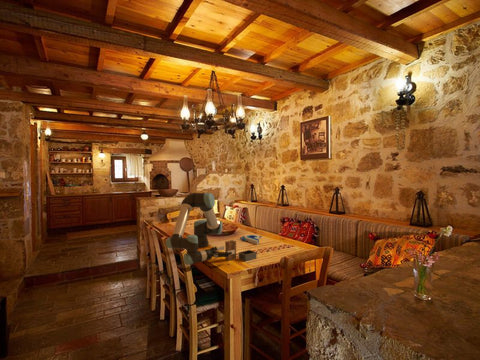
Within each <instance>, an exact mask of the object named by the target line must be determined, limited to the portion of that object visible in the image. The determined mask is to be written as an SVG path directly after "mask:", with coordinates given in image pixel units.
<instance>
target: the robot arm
mask: <svg viewBox="0 0 480 360" xmlns="http://www.w3.org/2000/svg"><path fill="white" fill-rule="evenodd" d="M215 201H216V200H215V195H214V194H213V193H212V192H191V193H189V194H188V195H186V196H185V197H184V198H183V199H182V201H181V203H180V205H179V208H180V210H179V213H178V216H177V219H176V222H175V224H174V225H175V226H174V229H173V232H172V234H171V237H167V238H166V240H165V246H166V247H167V249H172V250H176V249H177V250H186V252H185V253H184V254H183V262H184V265H187V266H189V265H194V264H198V263H203V262H205V261H209V260H211V259H212V258H215V259H216V258H225V257H229V255H232V254H235V250H232V251H227V252H225V251H224V250H225V246H224V245H223V246H213V247H210V248H207V249H203V250H199V248H203V247H204V248H205V247H208V246H209V244H210V243H209V239H208V235H221V234H222V232H223V221H220V220H219V219H218V218H217V216H216V213H215V210H214V207H215V203H216V202H215ZM193 208H198V209H199V210H201V212H203V215H204V217H205V219H204V218H203V219H198V220H195V221H194V222H193V234H189V235H187V236H186V237H184V233H185V231H186V227H187V223H188V221H189V216H190V214H191V212H192V211H193Z"/></svg>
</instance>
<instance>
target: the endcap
mask: <svg viewBox="0 0 480 360" xmlns="http://www.w3.org/2000/svg"><path fill="white" fill-rule="evenodd" d="M257 257H258V256H257V251H254V250H251V249H248V250H244V251H243V250H242V251H239V252H238V259H239V260H240V261H244V262H248V261H252V260H255V259H258V258H257Z"/></svg>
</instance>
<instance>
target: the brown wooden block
mask: <svg viewBox="0 0 480 360" xmlns="http://www.w3.org/2000/svg"><path fill="white" fill-rule="evenodd" d="M224 244H225V246H224V250H225V251H224V252H227V251H232V250H235V254H232V255H229V257H224V258H225V261H229V262H230V261H235V260H237V240H234V239H230V240H227V241H226V240H225V242H224ZM234 259H235V260H234Z"/></svg>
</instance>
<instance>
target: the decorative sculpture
mask: <svg viewBox="0 0 480 360" xmlns="http://www.w3.org/2000/svg"><path fill="white" fill-rule="evenodd" d="M260 238H262V236H261V235H257V234H246V235H242V236H240V237H238V239H239V240H240V241H243V242H244V241H245V242H247V241H248V243H250V242H251V244H253V245H257V246H258V245H259V244H260Z"/></svg>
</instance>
